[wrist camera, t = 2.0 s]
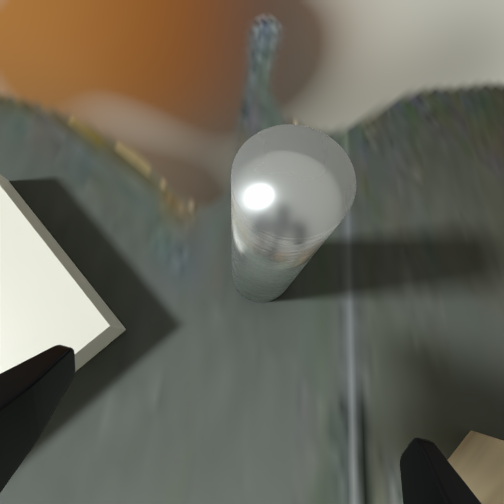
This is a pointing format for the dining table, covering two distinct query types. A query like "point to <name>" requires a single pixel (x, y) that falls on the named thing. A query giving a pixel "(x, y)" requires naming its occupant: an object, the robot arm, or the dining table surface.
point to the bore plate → (44, 292)
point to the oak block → (481, 466)
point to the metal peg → (285, 205)
